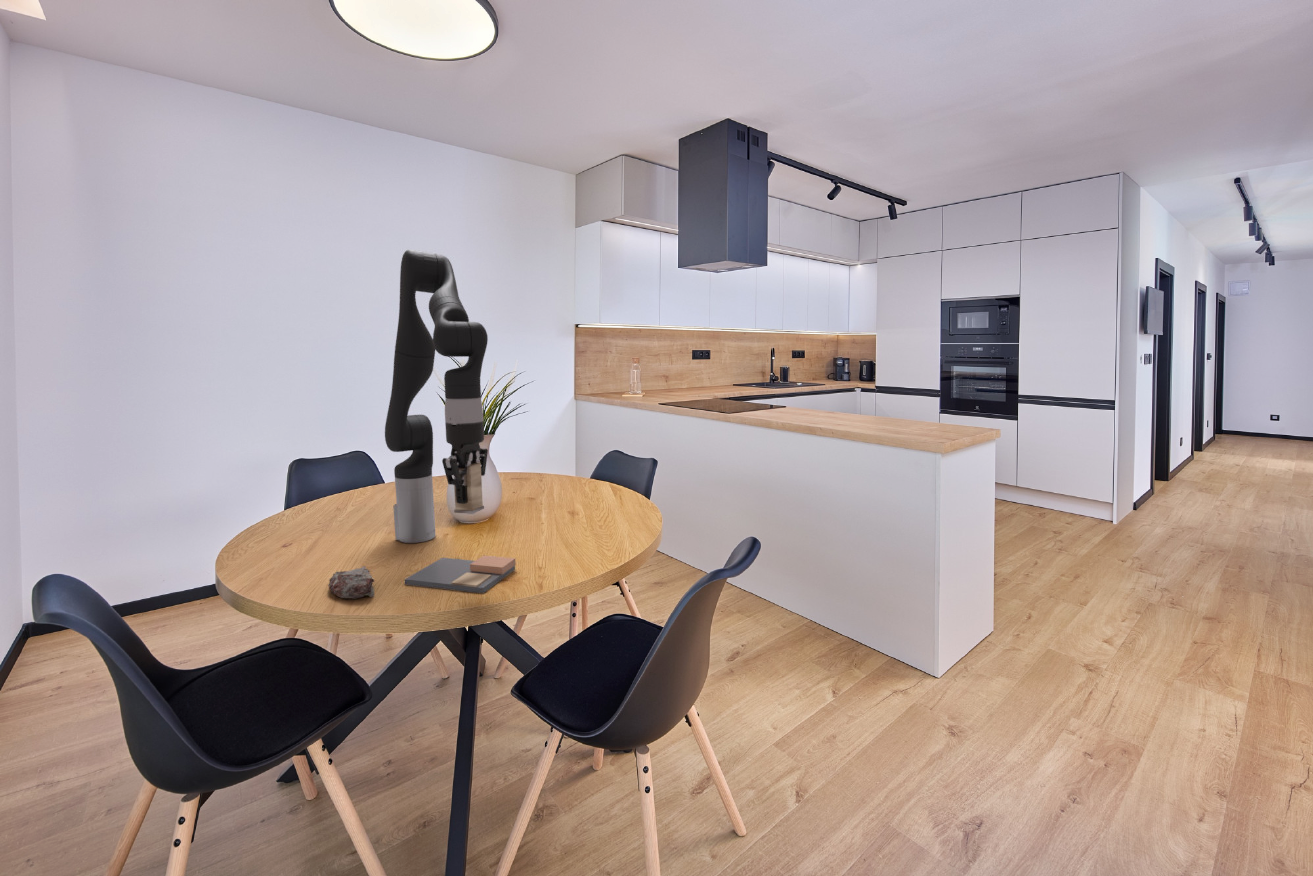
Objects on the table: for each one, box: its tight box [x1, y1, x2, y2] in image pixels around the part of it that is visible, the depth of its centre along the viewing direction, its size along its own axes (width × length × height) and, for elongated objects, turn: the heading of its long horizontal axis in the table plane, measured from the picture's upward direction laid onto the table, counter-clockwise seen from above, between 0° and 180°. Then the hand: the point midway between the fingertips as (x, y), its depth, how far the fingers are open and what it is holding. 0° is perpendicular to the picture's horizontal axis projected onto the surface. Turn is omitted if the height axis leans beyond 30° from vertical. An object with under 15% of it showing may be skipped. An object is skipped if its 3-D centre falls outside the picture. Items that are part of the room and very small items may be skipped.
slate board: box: [403, 557, 516, 594], centre depth 134 cm, size 19×14×1 cm
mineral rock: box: [327, 565, 376, 600], centre depth 126 cm, size 15×8×4 cm, turn 33°
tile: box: [470, 555, 516, 574], centre depth 136 cm, size 2×6×8 cm
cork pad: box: [451, 572, 491, 587], centre depth 129 cm, size 6×6×1 cm
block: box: [453, 463, 485, 515], centre depth 126 cm, size 4×4×10 cm
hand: (468, 500), depth 126 cm, fingers closed on block, 4 cm apart
